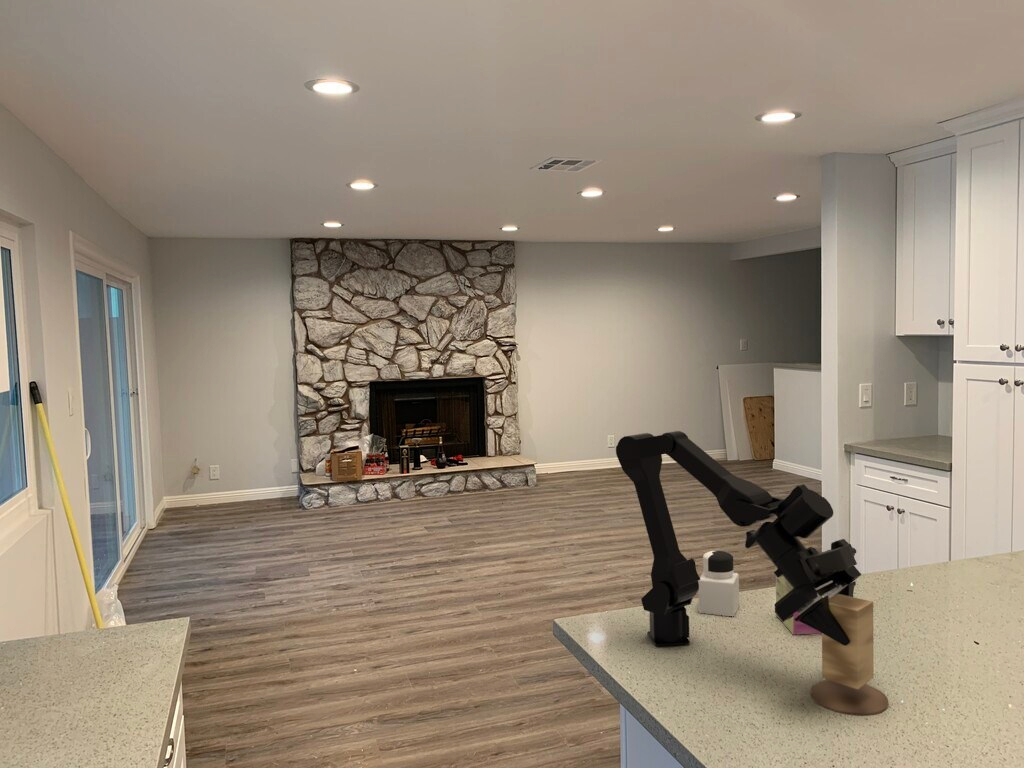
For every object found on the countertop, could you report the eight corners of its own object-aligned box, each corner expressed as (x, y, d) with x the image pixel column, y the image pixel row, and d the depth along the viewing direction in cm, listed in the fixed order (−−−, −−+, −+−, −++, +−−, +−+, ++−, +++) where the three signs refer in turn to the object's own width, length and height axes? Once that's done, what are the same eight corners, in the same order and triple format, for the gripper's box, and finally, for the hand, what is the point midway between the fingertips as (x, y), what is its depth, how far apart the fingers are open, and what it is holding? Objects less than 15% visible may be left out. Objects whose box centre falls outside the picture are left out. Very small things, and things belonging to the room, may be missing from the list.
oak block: (822, 678, 119) (821, 602, 119) (838, 667, 123) (838, 593, 122) (857, 689, 115) (857, 610, 115) (873, 677, 119) (873, 601, 118)
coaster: (832, 717, 113) (832, 714, 113) (798, 685, 124) (798, 682, 124) (903, 712, 114) (903, 709, 114) (863, 680, 125) (863, 677, 125)
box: (823, 634, 145) (823, 573, 144) (793, 635, 145) (792, 573, 144) (804, 615, 155) (803, 557, 155) (775, 616, 155) (774, 558, 155)
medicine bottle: (739, 606, 162) (738, 550, 161) (734, 617, 155) (732, 559, 155) (705, 602, 165) (704, 547, 164) (698, 613, 158) (697, 556, 158)
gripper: (792, 536, 115) (867, 628, 107) (848, 515, 127) (919, 595, 120) (745, 577, 121) (813, 666, 113) (803, 553, 133) (868, 632, 126)
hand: (856, 638), depth 118 cm, fingers closed on oak block, 5 cm apart
